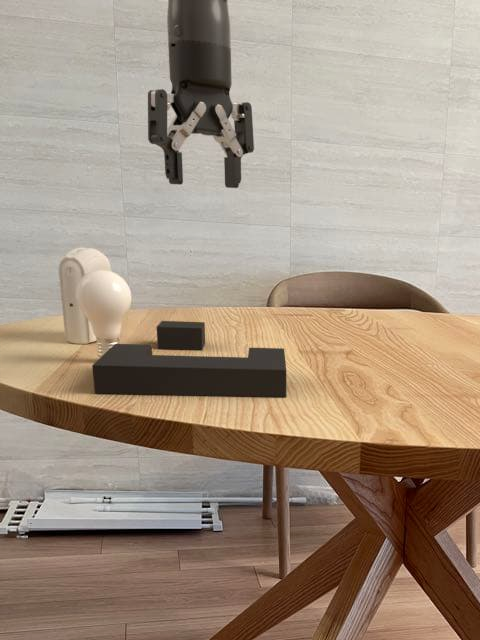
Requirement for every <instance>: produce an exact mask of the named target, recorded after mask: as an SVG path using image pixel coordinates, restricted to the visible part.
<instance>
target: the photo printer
mask: <svg viewBox="0 0 480 640" xmlns="http://www.w3.org/2000/svg"><path fill="white" fill-rule="evenodd" d="M99 269H103V270H109V271H112V267H111V263H110V260H109V258H108V257H107V256H106V255H105V254H104V253H103V252H101V251H100V250H98V249H96V248H92V247H84V246H83V247H76V248H73V249H72V250H69V252H66V254H65V255H63V257H62V258H61V260H60V262H59V263H58V278H59V279H58V280H59V289H60V290H59V291H60V298H61V299H60V300H61V308H62V309H61V310H62V318H63V329H64V338H65V340H66V341H67V342H69V343H70V344H76V345H88V344H90V343H93V342H97V341H96V336H95V335H94V333H93V330H92V326H91V323H90V322H89V320H88V319H87V317H86V316H85V315H84V313H83V312H82V310H81V309H80V307H79V305H78V302H77V297H76V290H77V286H78V283H79V282H80V280H81V279H82V277H83V276H84V275H86V274H87V273H89V272H91V271H94V270H99Z"/></svg>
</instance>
